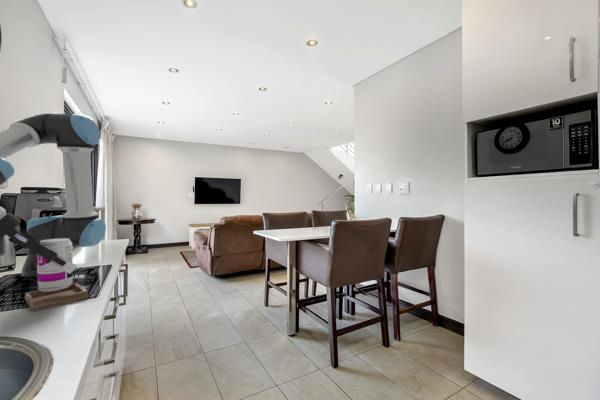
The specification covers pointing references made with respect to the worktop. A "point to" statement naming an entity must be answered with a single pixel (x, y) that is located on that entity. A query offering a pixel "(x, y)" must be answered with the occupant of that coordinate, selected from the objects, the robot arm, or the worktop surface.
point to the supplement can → (54, 266)
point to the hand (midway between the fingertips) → (69, 267)
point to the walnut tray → (55, 297)
